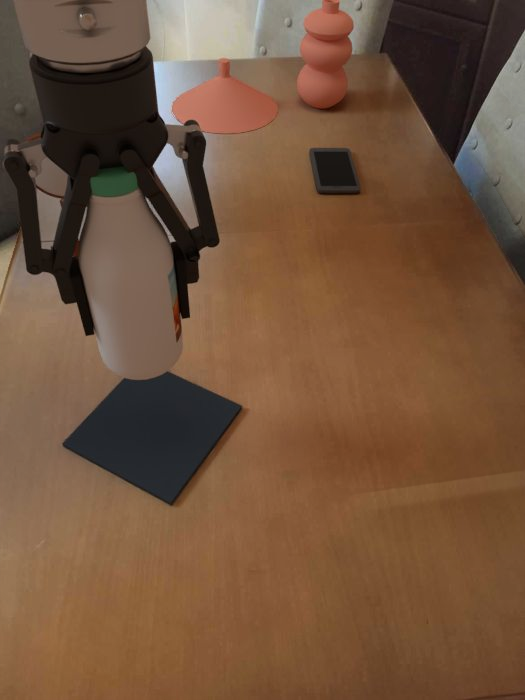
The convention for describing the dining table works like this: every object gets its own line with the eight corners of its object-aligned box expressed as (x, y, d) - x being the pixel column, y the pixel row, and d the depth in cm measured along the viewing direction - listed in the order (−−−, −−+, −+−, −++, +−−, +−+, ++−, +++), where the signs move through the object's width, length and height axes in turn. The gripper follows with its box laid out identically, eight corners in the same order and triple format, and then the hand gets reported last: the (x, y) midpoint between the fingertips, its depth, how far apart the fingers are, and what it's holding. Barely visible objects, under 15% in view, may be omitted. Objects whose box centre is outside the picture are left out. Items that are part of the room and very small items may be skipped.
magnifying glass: (112, 266, 84) (86, 132, 70) (109, 274, 83) (82, 139, 68) (52, 261, 85) (14, 126, 70) (48, 269, 83) (8, 134, 69)
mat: (62, 446, 64) (61, 443, 63) (142, 362, 72) (141, 358, 72) (171, 506, 59) (171, 503, 59) (242, 408, 68) (242, 405, 67)
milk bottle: (171, 388, 54) (146, 195, 39) (89, 376, 55) (34, 183, 40) (192, 328, 59) (176, 139, 44) (116, 318, 60) (76, 128, 45)
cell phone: (348, 151, 108) (349, 147, 107) (361, 194, 99) (361, 190, 98) (308, 151, 108) (308, 147, 107) (317, 194, 98) (317, 190, 98)
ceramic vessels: (175, 136, 110) (166, 26, 96) (168, 86, 124) (159, -16, 110) (358, 126, 115) (374, 20, 101) (331, 80, 129) (342, -19, 115)
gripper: (-99, 90, 32) (16, 369, 49) (267, 58, 36) (258, 324, 53) (-85, 38, 37) (15, 308, 54) (236, 16, 41) (237, 272, 58)
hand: (136, 316), depth 53 cm, fingers closed on milk bottle, 8 cm apart
